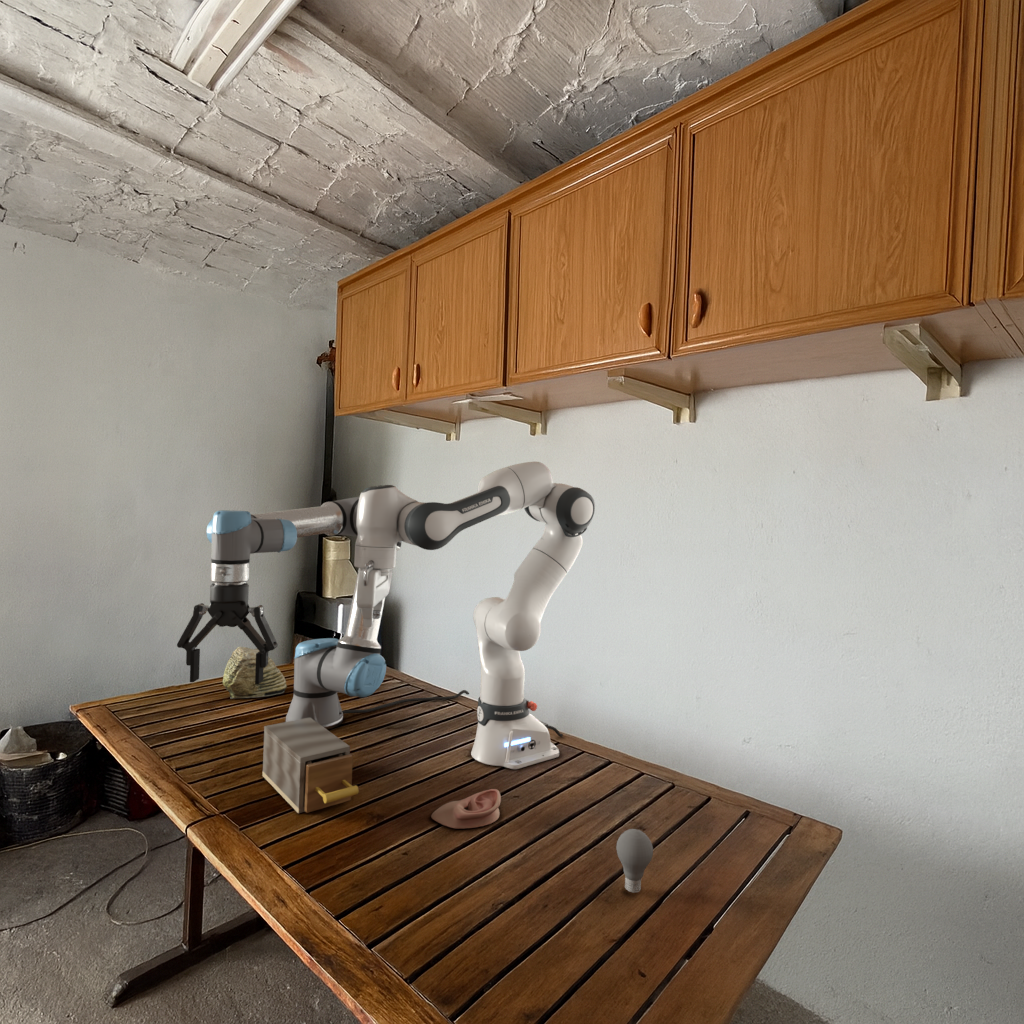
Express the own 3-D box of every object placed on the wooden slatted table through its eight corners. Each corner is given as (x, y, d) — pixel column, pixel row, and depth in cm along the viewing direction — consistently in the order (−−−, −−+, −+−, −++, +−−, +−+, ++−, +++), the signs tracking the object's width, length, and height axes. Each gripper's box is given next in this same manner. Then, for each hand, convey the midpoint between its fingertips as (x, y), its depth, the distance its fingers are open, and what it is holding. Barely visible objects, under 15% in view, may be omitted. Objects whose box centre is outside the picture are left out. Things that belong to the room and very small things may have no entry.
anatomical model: (426, 804, 124) (444, 779, 135) (425, 824, 124) (443, 798, 135) (492, 814, 121) (505, 787, 132) (491, 834, 121) (504, 806, 133)
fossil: (218, 695, 195) (220, 647, 195) (278, 685, 208) (279, 640, 207) (228, 703, 189) (230, 653, 188) (289, 692, 201) (290, 645, 201)
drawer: (364, 811, 126) (365, 765, 126) (318, 825, 120) (320, 777, 120) (312, 766, 146) (314, 727, 146) (271, 776, 140) (273, 735, 140)
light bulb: (610, 879, 108) (613, 822, 108) (644, 879, 109) (647, 822, 109) (619, 902, 102) (622, 840, 102) (655, 901, 103) (658, 840, 103)
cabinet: (348, 799, 133) (350, 746, 133) (298, 813, 126) (300, 757, 126) (308, 764, 149) (310, 717, 149) (262, 775, 142) (264, 726, 142)
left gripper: (161, 583, 131) (158, 684, 131) (283, 587, 132) (280, 688, 133) (178, 578, 138) (175, 674, 139) (294, 582, 140) (291, 677, 140)
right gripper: (381, 564, 127) (377, 632, 128) (396, 555, 148) (394, 614, 148) (349, 563, 127) (346, 631, 127) (369, 554, 148) (366, 613, 148)
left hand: (226, 681), depth 136 cm, fingers open, 13 cm apart
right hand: (372, 622), depth 138 cm, fingers open, 8 cm apart
